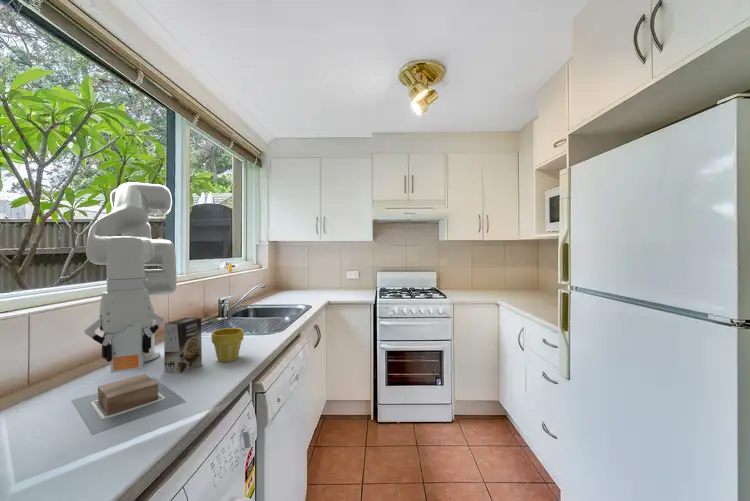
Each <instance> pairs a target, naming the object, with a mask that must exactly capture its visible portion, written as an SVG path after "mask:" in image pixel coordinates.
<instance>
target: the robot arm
mask: <svg viewBox="0 0 750 501" xmlns="http://www.w3.org/2000/svg"><path fill="white" fill-rule="evenodd" d="M109 199H110V204H111V208H112V209H113V211H111V212H109V213H107V214H105V215H104V216H101V217H100V218H99V219H97V220H95V221H94V222H93V223H92V225H91V226H90V228H89V230H88V234H87V240H86V243H85V244H86V245H85V254H86V255H85V256H86V258H87V260H88V261H89V262H90V263H92V264H94V265H98V266H99V265H100V266H102V265H103V266H106V291H103V292H102V294H101V299H100V306H99V318H98V319H97V320H96V321H94V322H93V323H92V324H91V325H90V326H89V327H87V328H86V329H84V331H83V333H84V334H85V335H87V336H88V337H89V338H91V339H92V340H93V341H95V342H97V343H99V344H100V345H101V358H102V359H105V361H106V362H108V363H109V362H110V363H111V361H112V346H111V338H112V337H113V335H114V333H120V332H123V331H125V330H126V328H127V327H128V325H129V323H131V322H137V321H141V328H142V330H143V363H148V362H150V361H152V360H154V359H157V358H158V357H160V355H161V352H160V351H159V350H156V349H155V333H156V331H158V329H159V328H160V327H161V325H162V324H163V323H164V322H165V319H164V318H163V317H161V316H160V315H158V314H156V313H155V308H154V306H153V304H152V303H151V296H165V295H172V294H173V293H175V291H176V289H177V256H176V247H175V245H174V243H173V242H172V241H171V240H169V239H152V228H151V224H150V223H149V218H150V216H149V214H150V215H168V214H169V213H170V212H171V209H172V204H173V199H172V194H171V191H170V189H169V188H168V187H167V186H165V185H162V184H154V183H146V182H143V183H142V182H125V183H122V184H120V185H118V187H117V188H115V189H113V190H112V191H111V192H110V194H109ZM149 266H150V267H151V266H155V267H156V266H159V267H161V268H160V269H159V268H156V269H155V268H154V269H153V268H151V269H146V268H145V267H149ZM97 329H99V331H101V332H103V335H102V336H101V335H98V333H96V330H97Z"/></svg>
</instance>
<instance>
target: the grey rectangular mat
mask: <svg viewBox="0 0 750 501" xmlns="http://www.w3.org/2000/svg"><path fill="white" fill-rule="evenodd" d="M150 378H151V379H152V380H154V381H155V382H156V383H158V400H155V401H152V402H149V403H146V404H142V405H139V406H136V407H133V408H130V409H127V410H124V411H121V412H118V413H115V414H112V415H109V416H108V415H107V413H106V412H105V411H104V409H103V408H102V407H101V406H100V404H99V403H98V392H95V393H92V394H89V395H85V396H82V397H77V398H74V399H72V400H70V401H71V402H72V404H73V405H74V408H76V411H77V412H78V414H79V416H80V417H81V419H82V420H83V423H84V424H85V425H86V427H87V428H88V430H89V432H90V434H91V435H93V436H94V435H96V434H99V433H102V432H105V431H108V430H110V429H113V428H116V427H118V426H121V425H124V424H127V423H130V422H133V421H135V420H138V419H141V418H145V417H147V416H151V415H154V414H156V413H159V412H162V411H164V410H167V409H170V408H172V407H176V406H179V405H182V404H184V403H186V402H187V400H185V399H183V398H182V397H181V396H180V395H178V394H177V393H175V391H173V390H171V389H170V388H169V387H167V386H166V385H165V384H164V383H162V382H160V381H159V380H158V379H157V378H155V377H153V376H152V377H150Z"/></svg>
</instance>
